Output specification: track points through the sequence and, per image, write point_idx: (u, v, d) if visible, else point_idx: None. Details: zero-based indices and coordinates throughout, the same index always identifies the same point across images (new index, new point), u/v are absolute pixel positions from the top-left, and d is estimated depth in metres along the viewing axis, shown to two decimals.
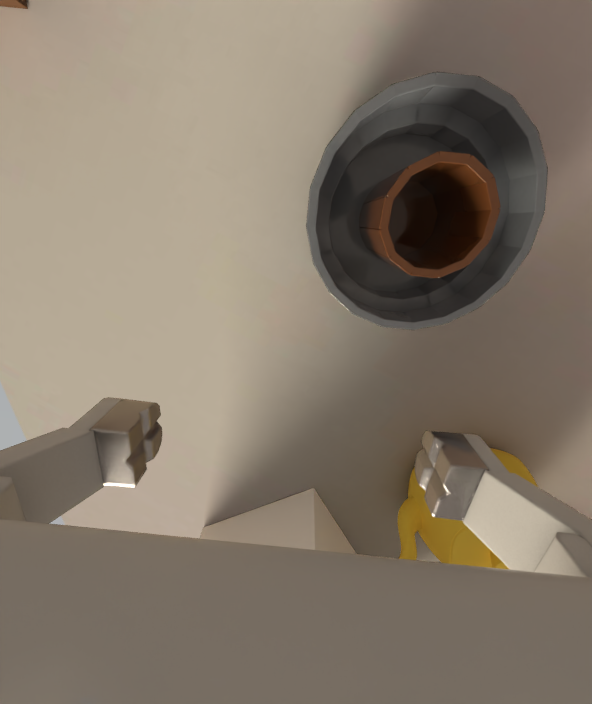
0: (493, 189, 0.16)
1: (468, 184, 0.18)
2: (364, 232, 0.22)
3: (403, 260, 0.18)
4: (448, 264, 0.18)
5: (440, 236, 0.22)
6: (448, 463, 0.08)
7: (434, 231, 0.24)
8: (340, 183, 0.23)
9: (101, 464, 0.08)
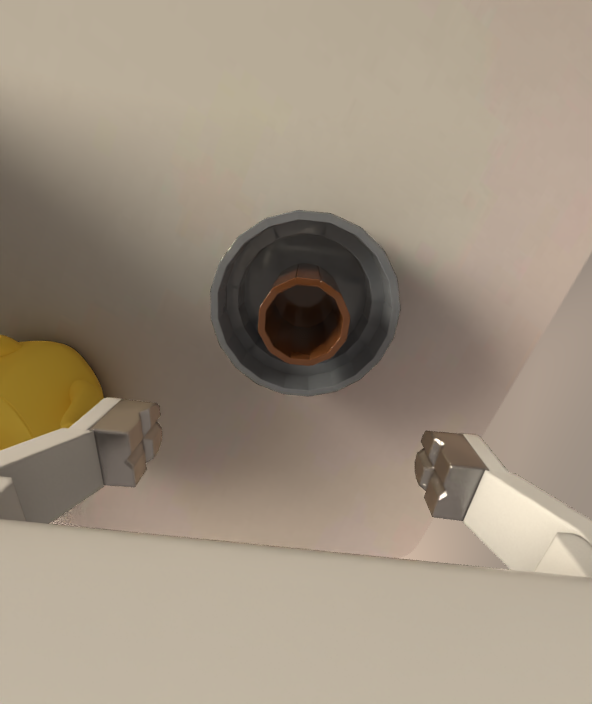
0: (323, 358, 0.22)
1: (327, 342, 0.23)
2: (294, 267, 0.25)
3: (271, 300, 0.21)
4: (269, 337, 0.22)
5: (291, 331, 0.27)
6: (448, 463, 0.08)
7: (295, 327, 0.29)
8: (334, 244, 0.27)
9: (101, 464, 0.08)
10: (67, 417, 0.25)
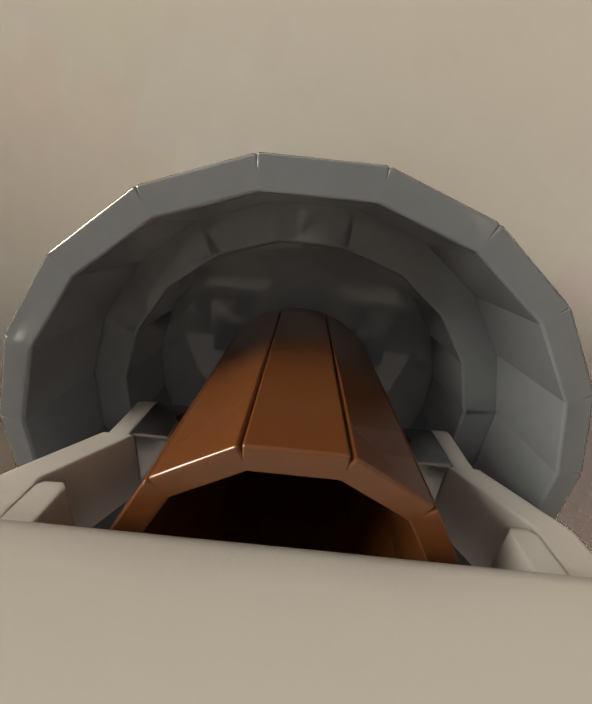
0: None
1: None
2: (265, 331, 0.10)
3: (146, 520, 0.05)
4: None
5: None
6: None
7: None
8: (366, 265, 0.11)
9: (140, 468, 0.08)
10: None
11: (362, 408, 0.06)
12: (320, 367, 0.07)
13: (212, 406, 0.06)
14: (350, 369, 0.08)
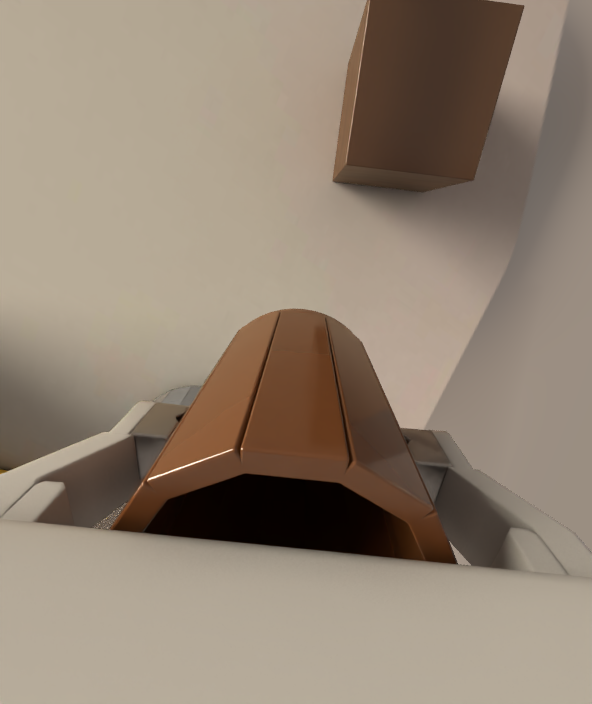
0: None
1: None
2: (265, 332, 0.10)
3: (144, 522, 0.05)
4: None
5: None
6: None
7: None
8: None
9: (140, 468, 0.08)
10: None
11: (361, 410, 0.06)
12: (319, 369, 0.07)
13: (211, 408, 0.06)
14: (349, 370, 0.08)
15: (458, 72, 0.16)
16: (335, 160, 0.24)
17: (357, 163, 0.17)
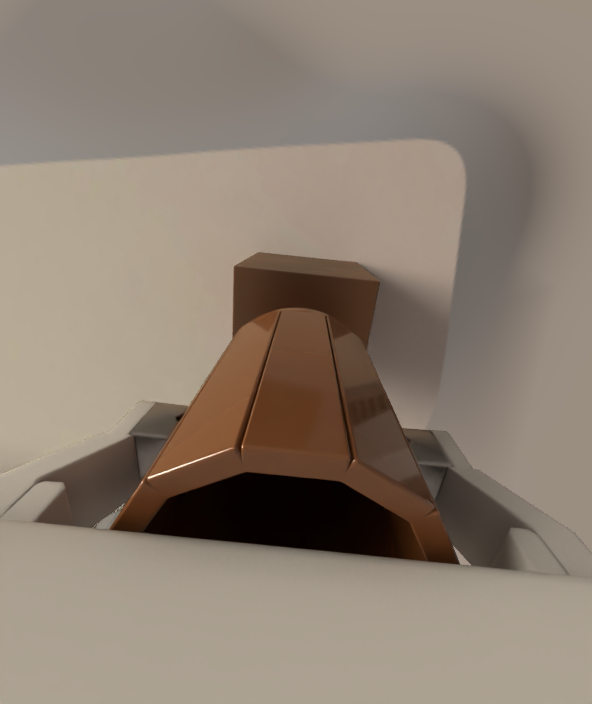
0: None
1: None
2: (265, 330, 0.09)
3: (144, 521, 0.05)
4: None
5: None
6: None
7: None
8: None
9: (140, 468, 0.08)
10: None
11: (362, 408, 0.06)
12: (320, 367, 0.07)
13: (211, 406, 0.06)
14: (350, 369, 0.08)
15: None
16: None
17: None
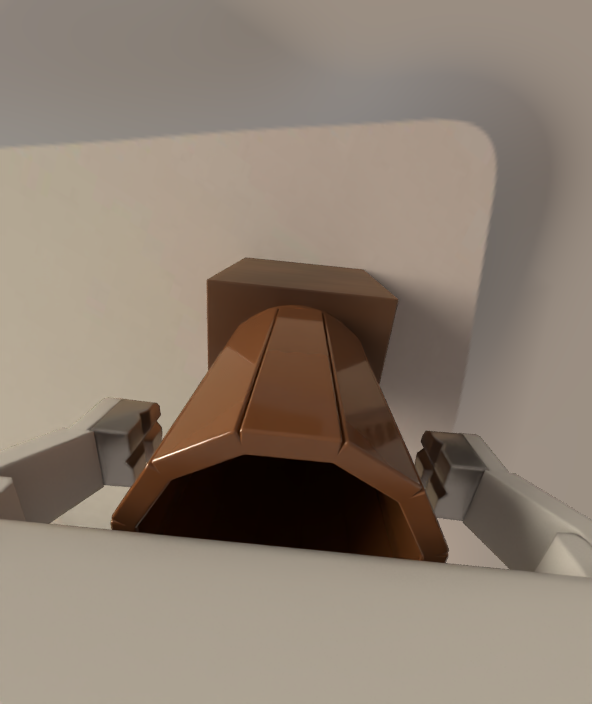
0: None
1: None
2: (263, 326, 0.10)
3: (149, 502, 0.05)
4: None
5: (263, 460, 0.12)
6: (448, 463, 0.08)
7: None
8: None
9: (101, 464, 0.08)
10: None
11: (355, 398, 0.06)
12: (316, 360, 0.07)
13: (212, 396, 0.06)
14: (345, 362, 0.08)
15: None
16: None
17: None
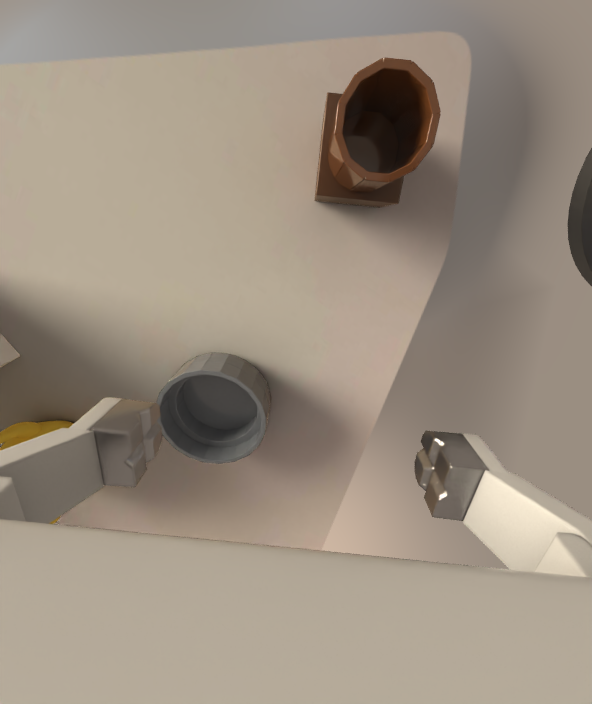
0: (404, 171, 0.20)
1: (404, 164, 0.21)
2: None
3: (353, 91, 0.18)
4: (346, 144, 0.20)
5: None
6: (448, 463, 0.08)
7: None
8: None
9: (101, 464, 0.08)
10: None
11: None
12: None
13: None
14: None
15: None
16: None
17: (323, 194, 0.28)
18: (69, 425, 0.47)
